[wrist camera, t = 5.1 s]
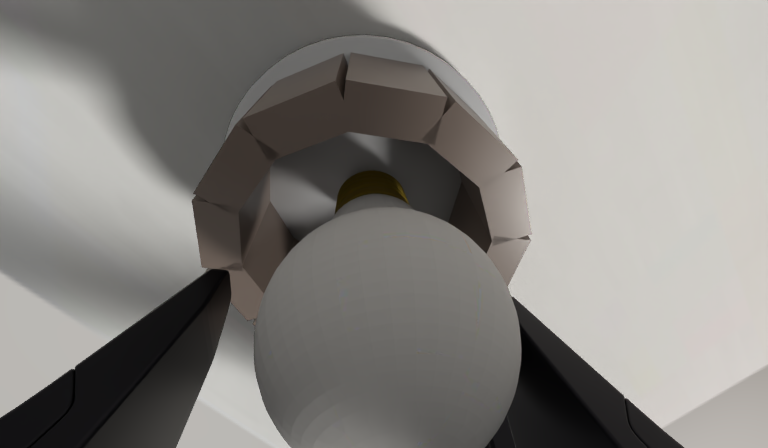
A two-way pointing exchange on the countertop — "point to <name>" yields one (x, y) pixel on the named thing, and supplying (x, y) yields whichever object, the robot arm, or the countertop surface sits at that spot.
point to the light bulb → (386, 330)
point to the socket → (354, 157)
